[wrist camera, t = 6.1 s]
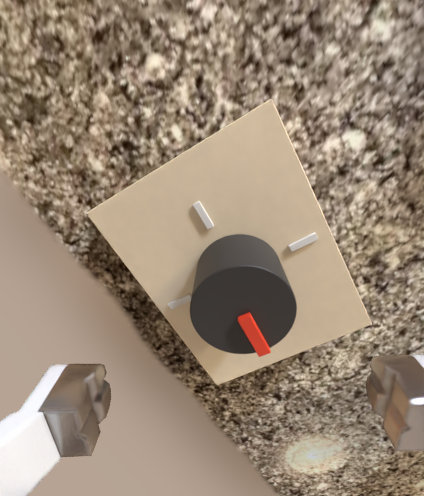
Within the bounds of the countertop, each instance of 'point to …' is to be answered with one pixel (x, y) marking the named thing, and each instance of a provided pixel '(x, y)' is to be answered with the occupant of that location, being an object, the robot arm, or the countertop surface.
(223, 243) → the timer knob
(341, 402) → the countertop surface
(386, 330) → the countertop surface
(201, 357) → the panel
